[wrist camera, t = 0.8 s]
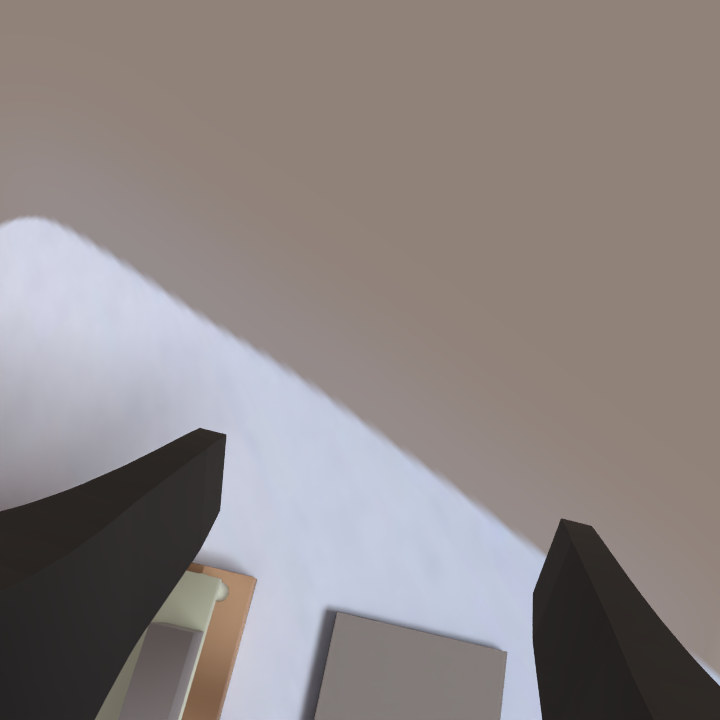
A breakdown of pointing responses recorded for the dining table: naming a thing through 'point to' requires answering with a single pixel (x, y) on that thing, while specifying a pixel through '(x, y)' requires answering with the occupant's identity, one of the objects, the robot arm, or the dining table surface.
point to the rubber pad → (407, 675)
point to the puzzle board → (219, 645)
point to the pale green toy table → (166, 654)
